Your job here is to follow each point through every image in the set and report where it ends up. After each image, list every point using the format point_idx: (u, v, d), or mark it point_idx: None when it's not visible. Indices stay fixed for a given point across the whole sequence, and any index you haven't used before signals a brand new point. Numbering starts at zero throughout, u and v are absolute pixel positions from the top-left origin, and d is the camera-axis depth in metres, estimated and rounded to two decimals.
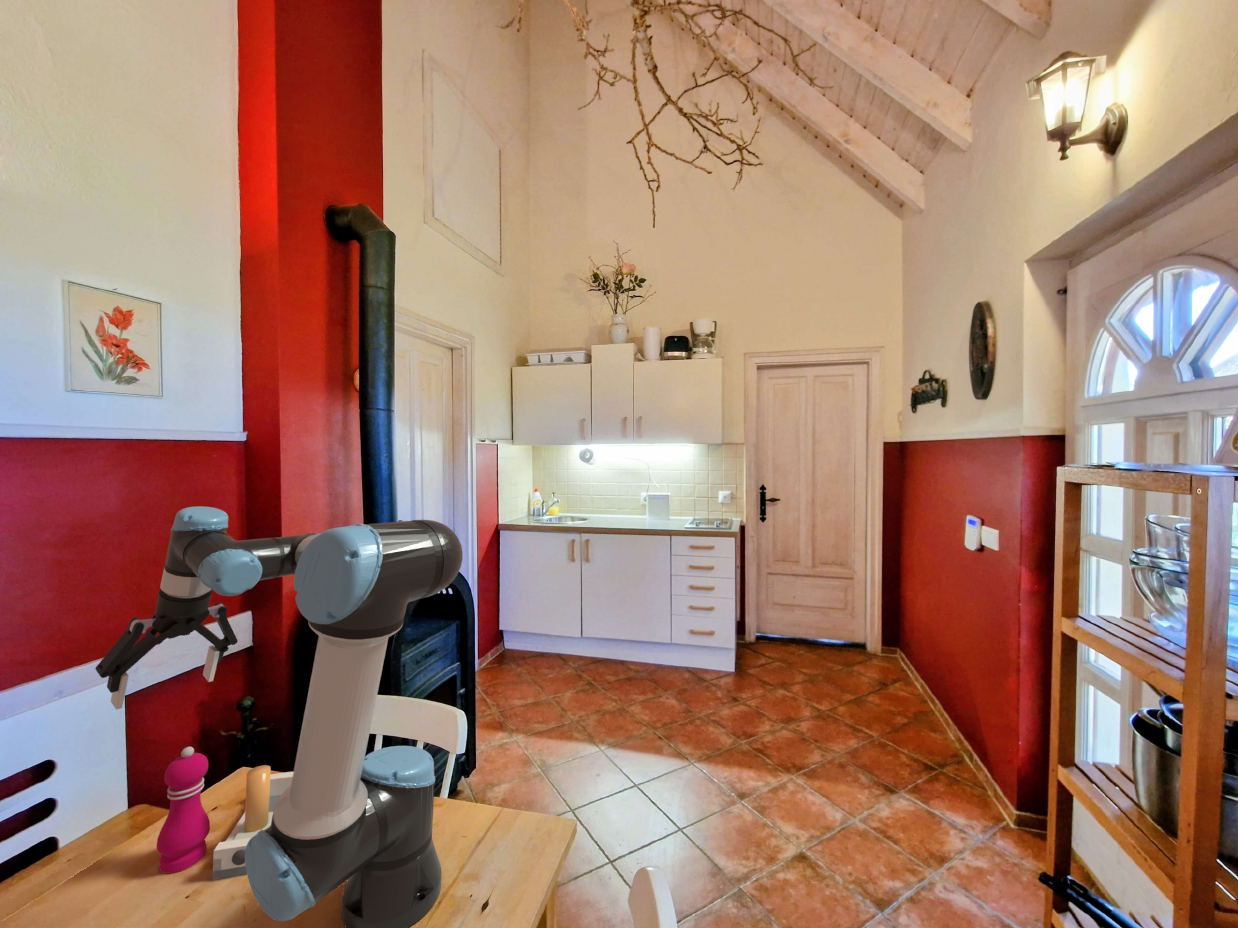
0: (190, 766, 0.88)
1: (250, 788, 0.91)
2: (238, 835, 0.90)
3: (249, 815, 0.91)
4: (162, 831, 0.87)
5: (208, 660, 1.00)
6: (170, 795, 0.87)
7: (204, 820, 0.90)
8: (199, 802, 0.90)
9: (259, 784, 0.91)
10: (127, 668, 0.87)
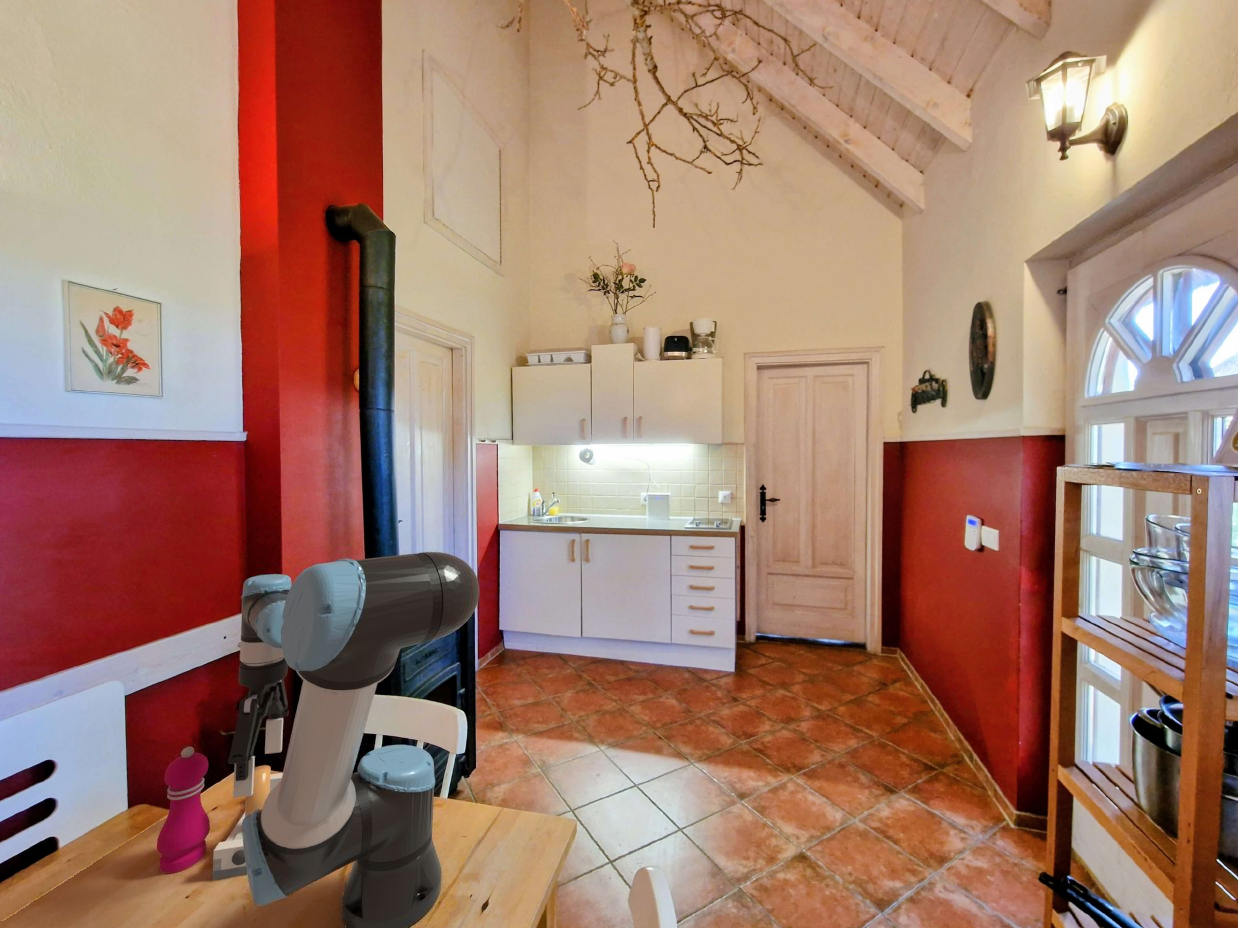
0: (190, 766, 0.88)
1: None
2: (238, 835, 0.90)
3: None
4: (162, 831, 0.87)
5: (269, 734, 0.99)
6: (170, 795, 0.87)
7: (204, 820, 0.90)
8: (199, 802, 0.90)
9: (259, 784, 0.91)
10: (253, 748, 0.87)
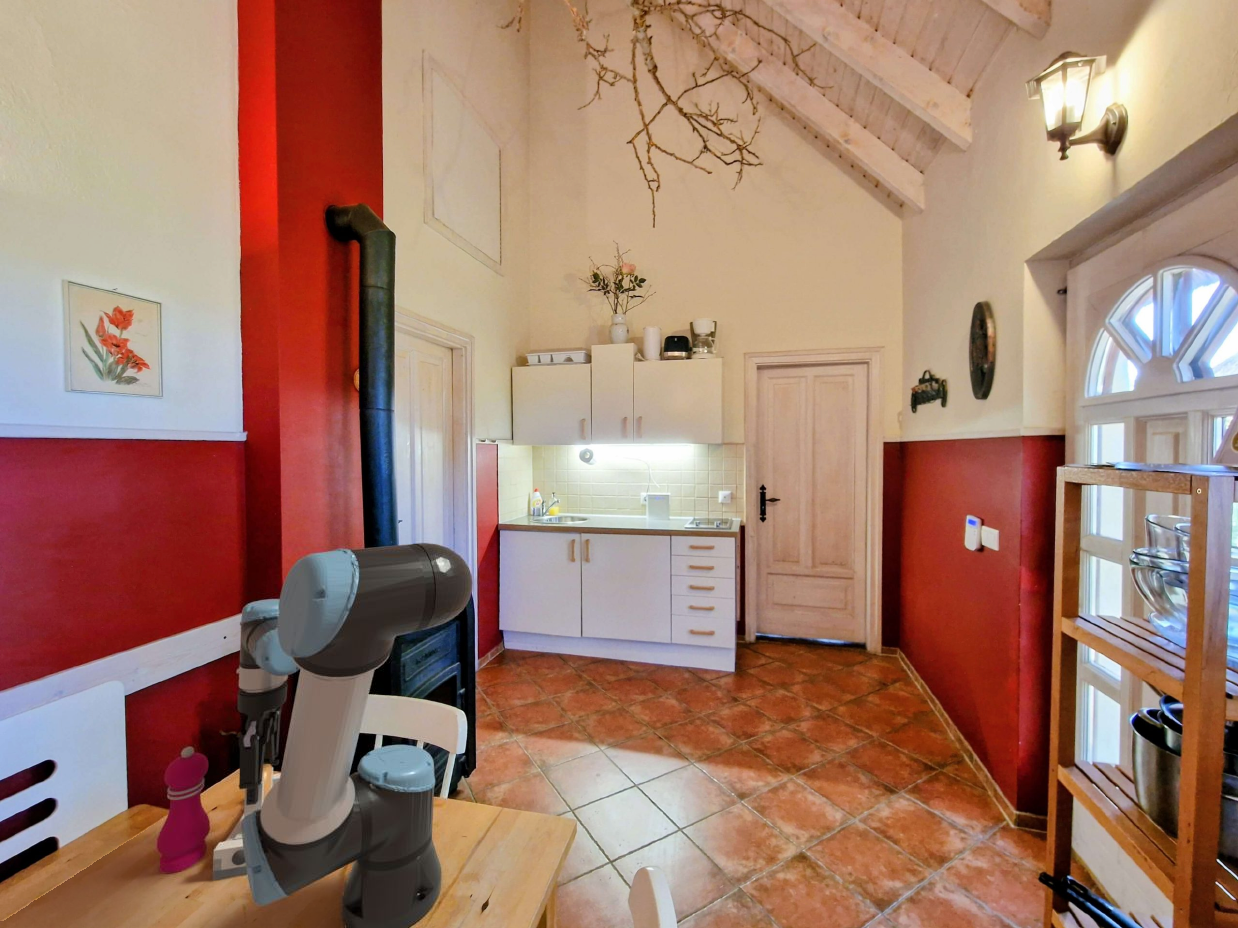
0: (190, 766, 0.88)
1: None
2: (240, 833, 0.90)
3: None
4: (162, 831, 0.87)
5: None
6: (170, 795, 0.87)
7: (204, 820, 0.90)
8: (199, 802, 0.90)
9: None
10: (262, 772, 0.91)
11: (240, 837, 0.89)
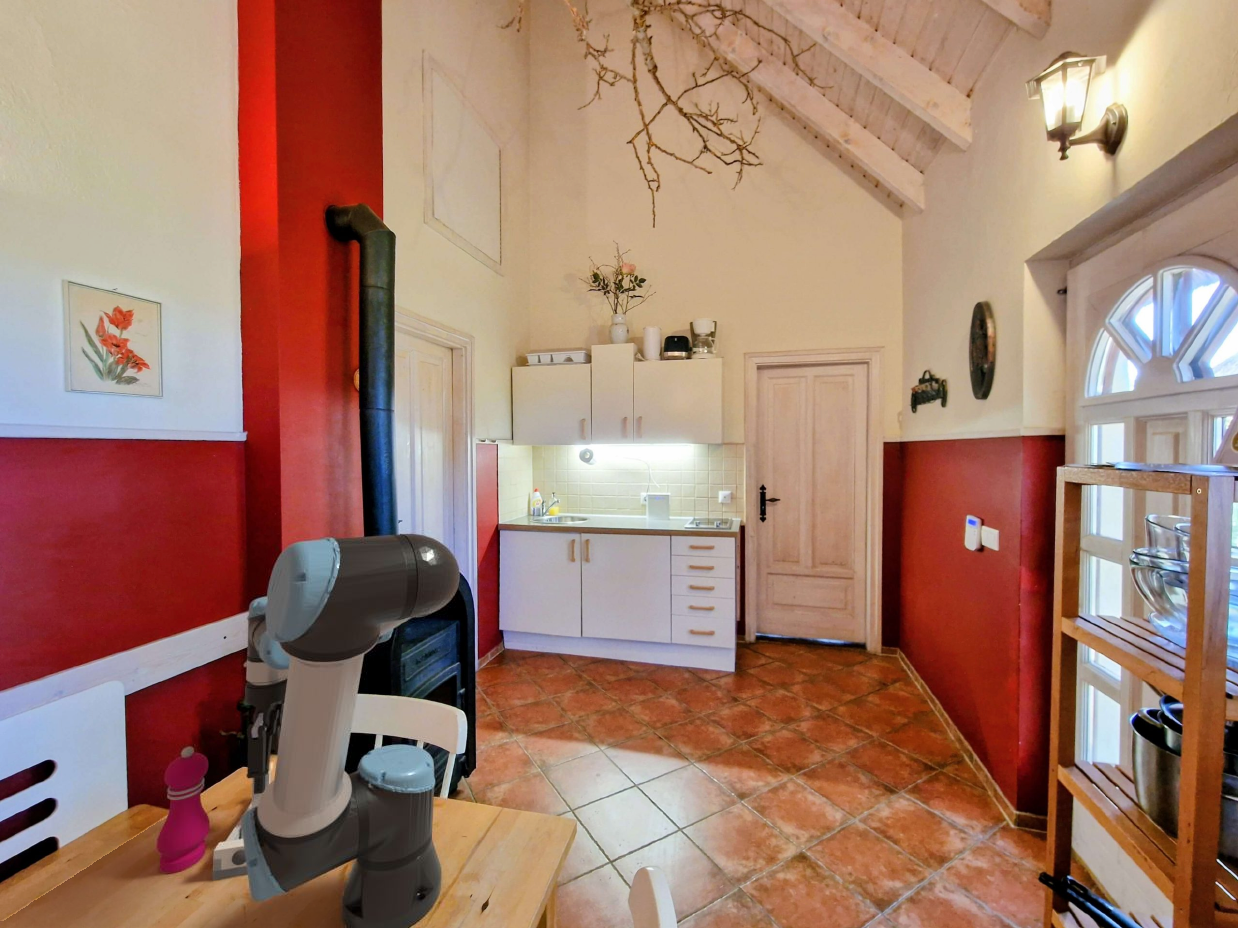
0: (190, 766, 0.88)
1: None
2: None
3: None
4: (162, 831, 0.87)
5: None
6: (170, 795, 0.87)
7: (204, 820, 0.90)
8: (199, 802, 0.90)
9: None
10: None
11: None
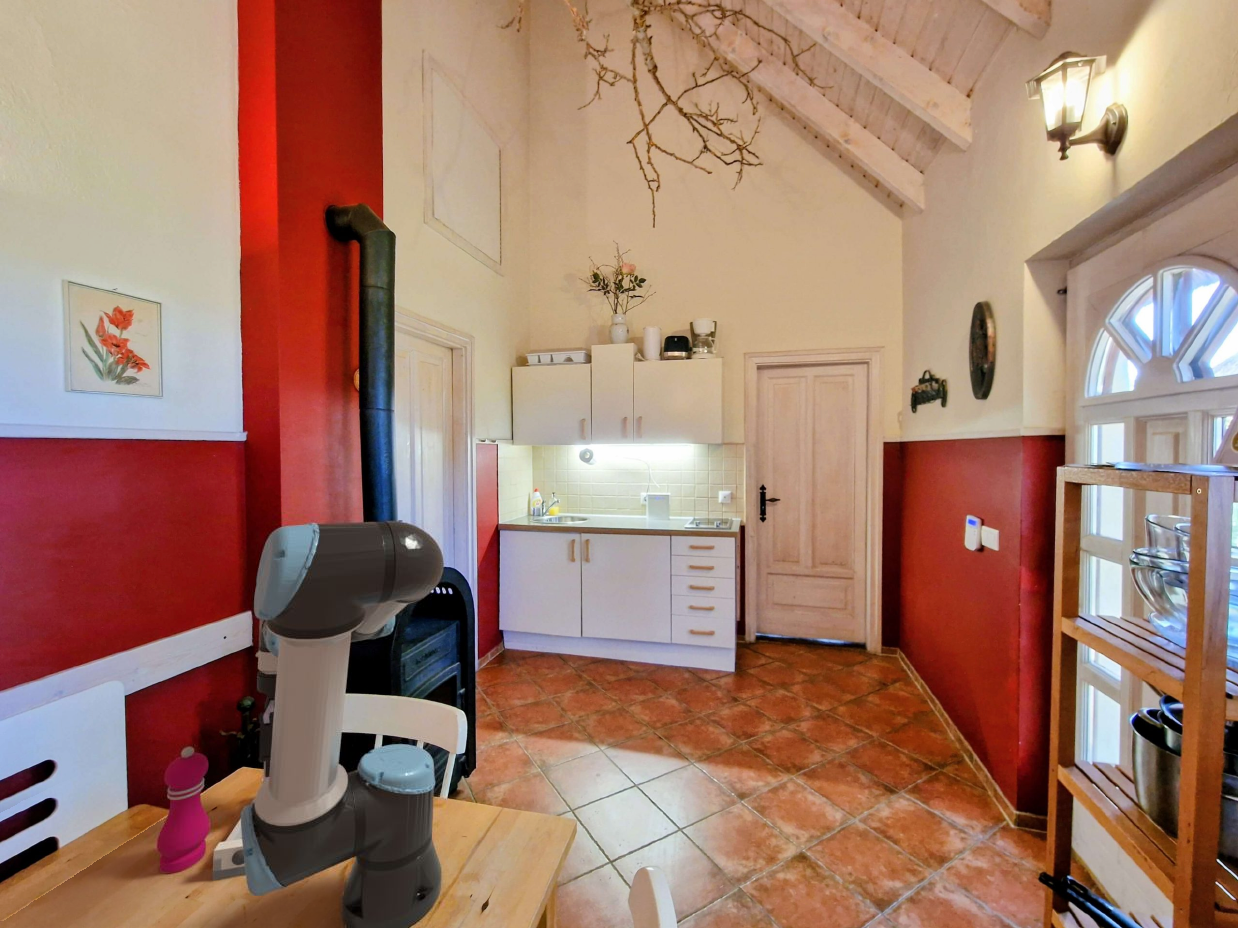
0: (190, 766, 0.88)
1: None
2: None
3: None
4: (162, 831, 0.87)
5: None
6: (170, 795, 0.87)
7: (204, 820, 0.90)
8: (199, 802, 0.90)
9: None
10: None
11: None
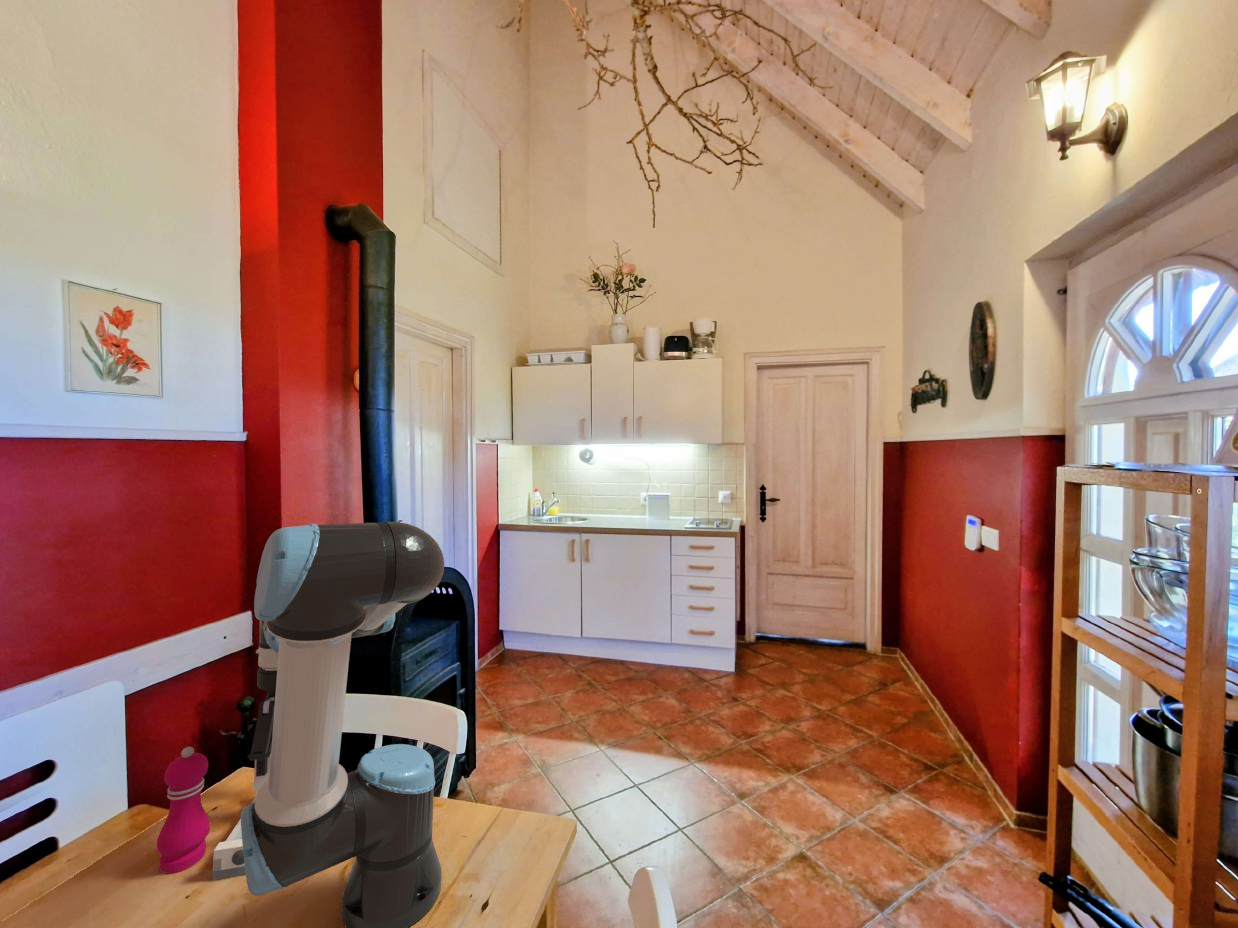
0: (190, 766, 0.88)
1: None
2: None
3: None
4: (162, 831, 0.87)
5: None
6: (170, 795, 0.87)
7: (204, 820, 0.90)
8: (199, 802, 0.90)
9: None
10: (271, 746, 0.95)
11: None
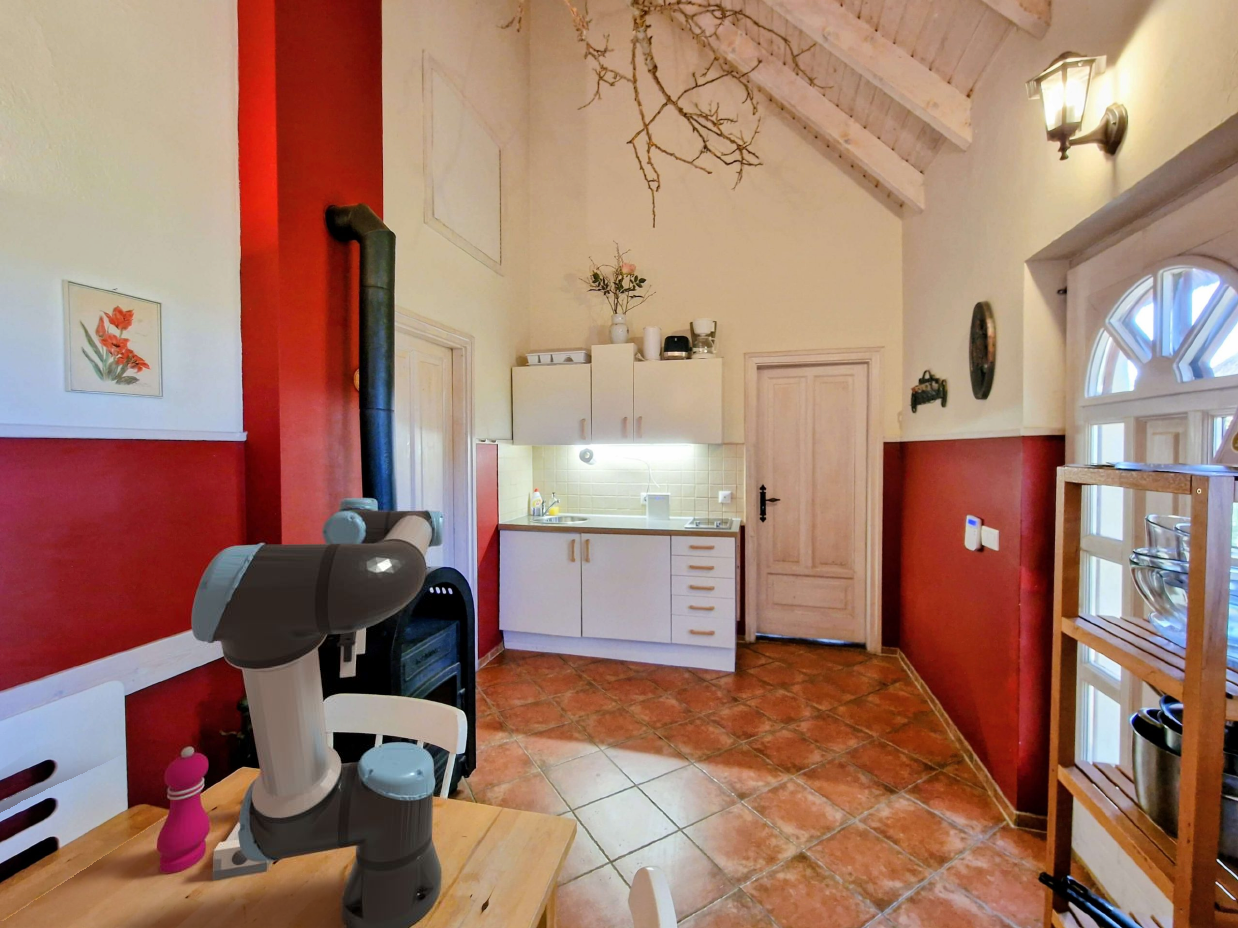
0: (190, 766, 0.88)
1: None
2: None
3: None
4: (162, 831, 0.87)
5: (355, 637, 1.16)
6: (170, 795, 0.87)
7: (204, 820, 0.90)
8: (199, 802, 0.90)
9: None
10: (355, 637, 1.04)
11: None
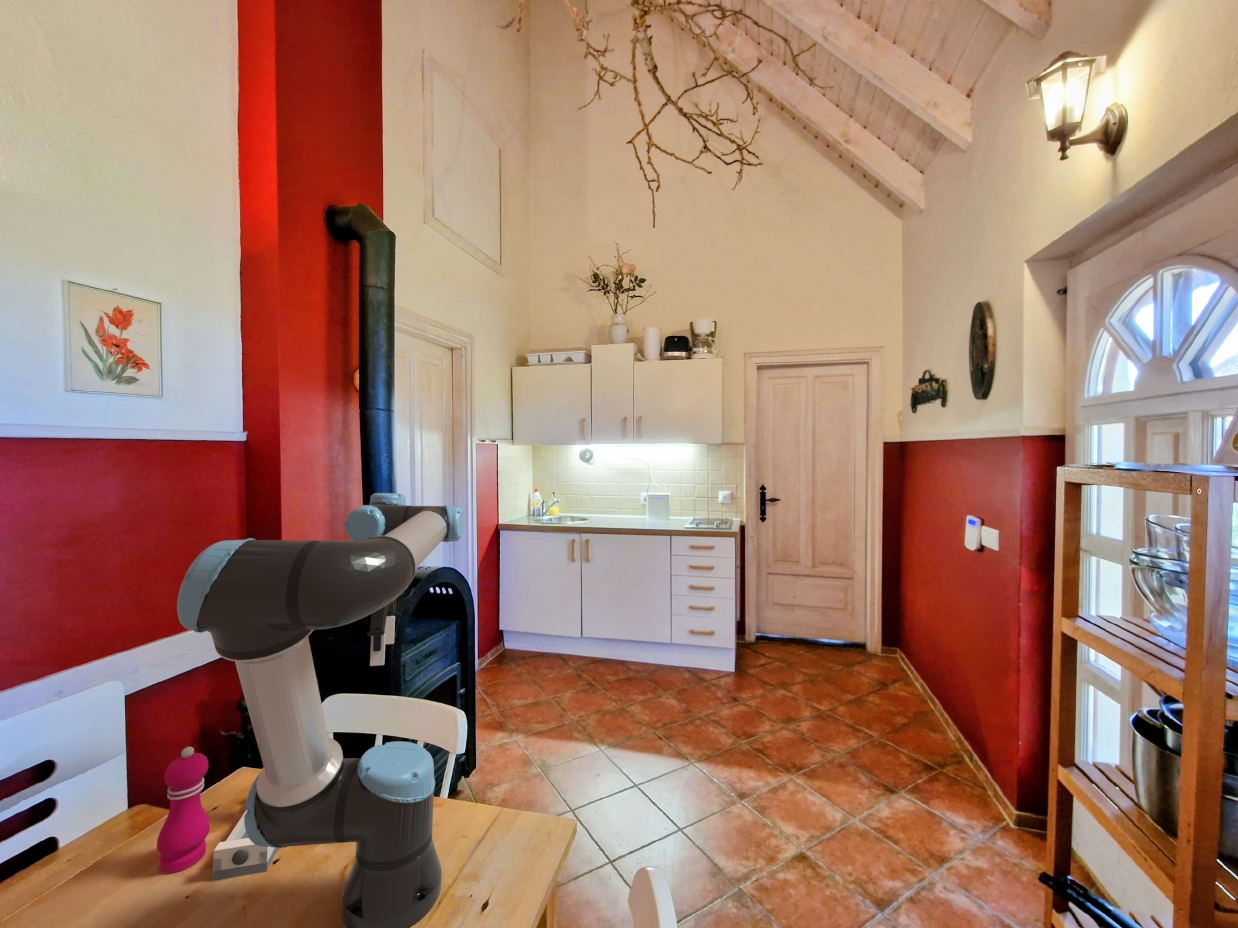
0: (190, 766, 0.88)
1: None
2: None
3: None
4: (162, 831, 0.87)
5: (385, 628, 1.20)
6: (170, 795, 0.87)
7: (204, 820, 0.90)
8: (199, 802, 0.90)
9: None
10: (384, 627, 1.08)
11: None
